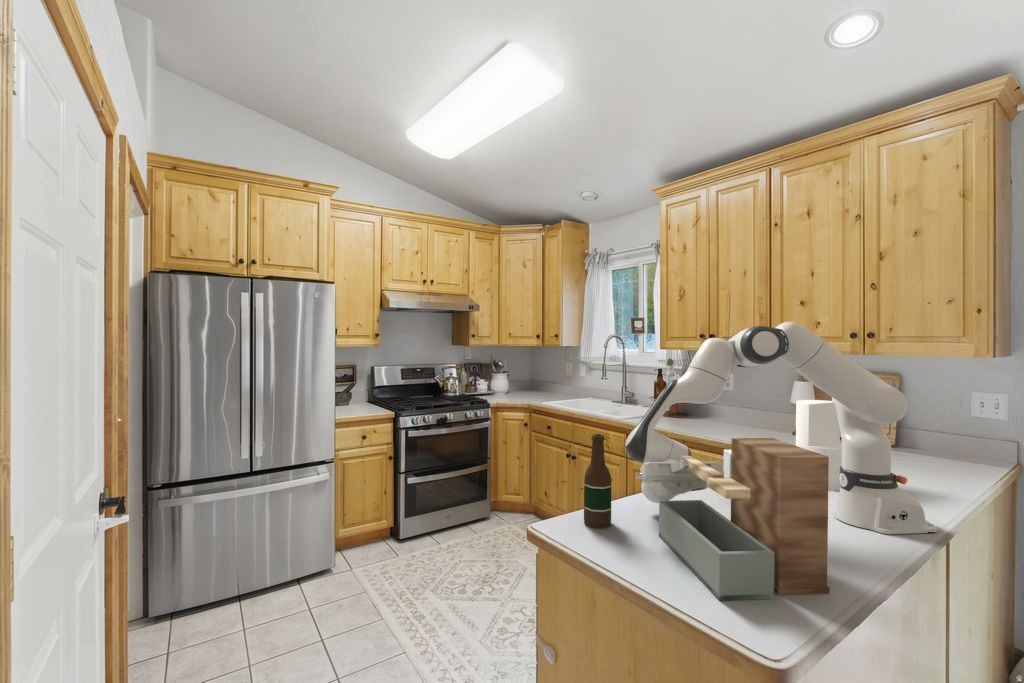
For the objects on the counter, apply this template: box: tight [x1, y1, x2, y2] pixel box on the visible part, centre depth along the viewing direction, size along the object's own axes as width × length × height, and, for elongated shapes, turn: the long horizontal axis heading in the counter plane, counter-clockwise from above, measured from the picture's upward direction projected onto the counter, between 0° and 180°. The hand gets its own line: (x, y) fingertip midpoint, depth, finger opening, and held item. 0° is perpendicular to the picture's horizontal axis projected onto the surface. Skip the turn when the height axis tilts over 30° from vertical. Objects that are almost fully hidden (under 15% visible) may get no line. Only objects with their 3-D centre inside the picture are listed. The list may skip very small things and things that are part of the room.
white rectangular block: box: [795, 399, 842, 492], centre depth 168 cm, size 17×17×28 cm
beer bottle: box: [583, 433, 612, 530], centre depth 130 cm, size 8×8×24 cm
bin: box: [658, 499, 775, 602], centre depth 108 cm, size 30×11×9 cm, turn 5°
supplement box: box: [722, 448, 731, 478], centre depth 160 cm, size 7×7×13 cm
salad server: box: [681, 456, 750, 500], centre depth 107 cm, size 24×5×2 cm, turn 4°
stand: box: [730, 437, 831, 596], centre depth 104 cm, size 19×11×27 cm, turn 5°
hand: (693, 463), depth 115 cm, fingers closed on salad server, 2 cm apart
